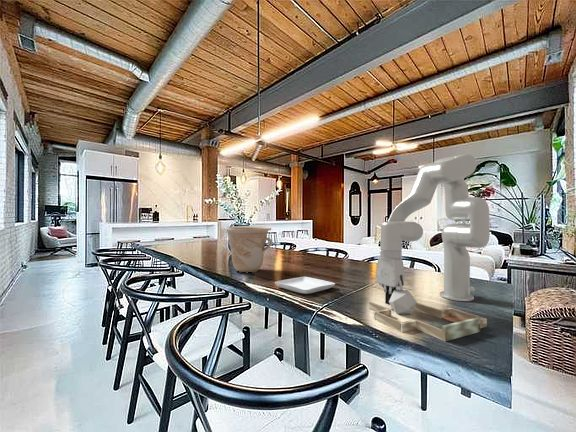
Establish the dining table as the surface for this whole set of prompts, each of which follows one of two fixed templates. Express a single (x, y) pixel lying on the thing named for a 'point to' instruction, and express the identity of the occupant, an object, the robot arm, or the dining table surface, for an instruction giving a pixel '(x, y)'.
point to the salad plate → (305, 285)
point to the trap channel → (459, 328)
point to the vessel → (248, 246)
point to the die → (402, 302)
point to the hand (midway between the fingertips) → (390, 303)
